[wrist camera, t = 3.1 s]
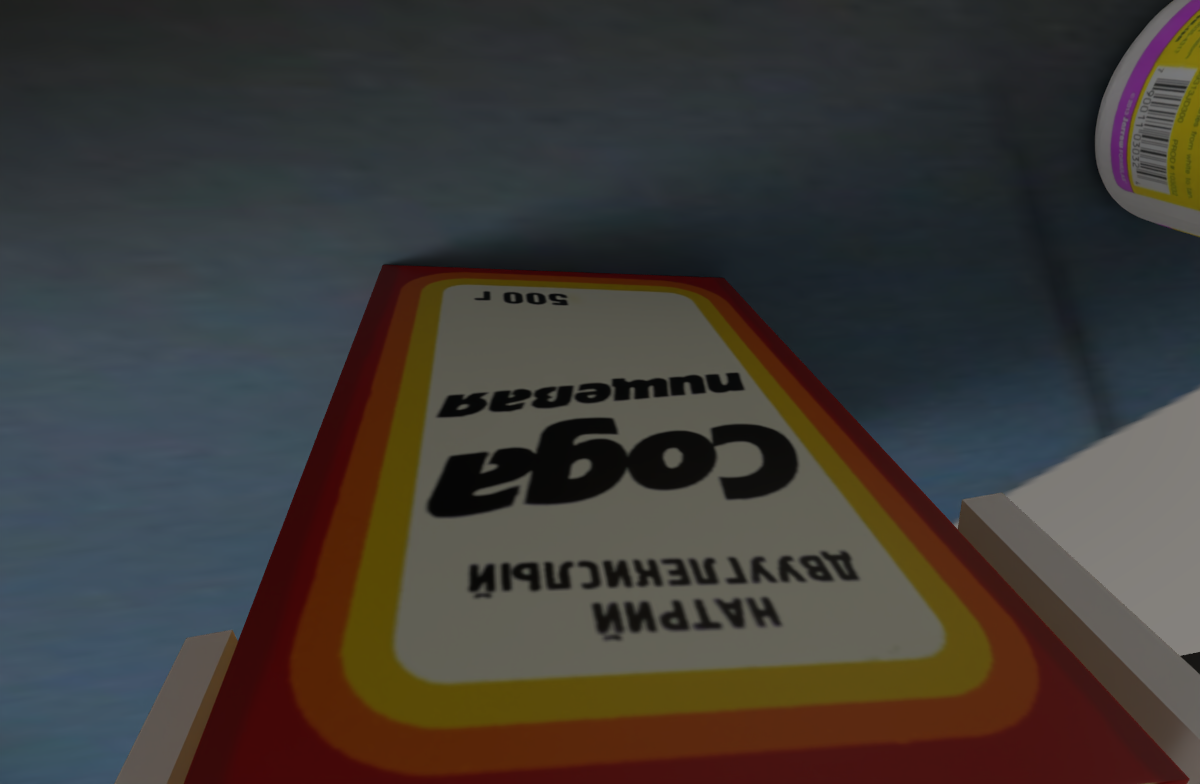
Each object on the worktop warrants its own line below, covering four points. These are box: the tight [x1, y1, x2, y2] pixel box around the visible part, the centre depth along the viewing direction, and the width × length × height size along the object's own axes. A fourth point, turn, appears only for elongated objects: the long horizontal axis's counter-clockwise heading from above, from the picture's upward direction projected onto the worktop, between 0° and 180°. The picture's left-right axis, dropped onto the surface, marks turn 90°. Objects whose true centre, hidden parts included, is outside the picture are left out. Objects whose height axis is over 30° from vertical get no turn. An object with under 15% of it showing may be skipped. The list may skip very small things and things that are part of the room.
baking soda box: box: [184, 265, 1190, 784], centre depth 15 cm, size 10×6×16 cm
